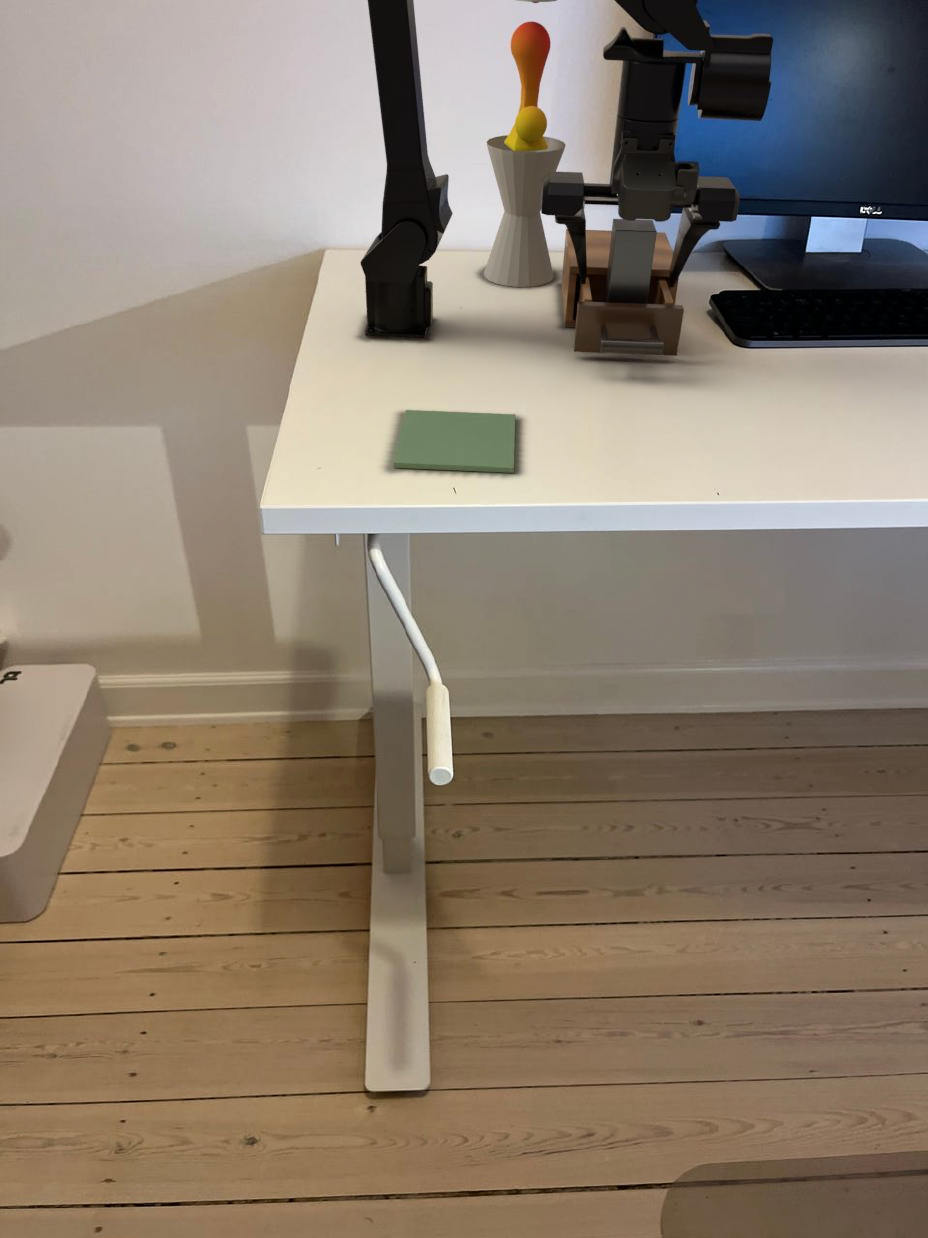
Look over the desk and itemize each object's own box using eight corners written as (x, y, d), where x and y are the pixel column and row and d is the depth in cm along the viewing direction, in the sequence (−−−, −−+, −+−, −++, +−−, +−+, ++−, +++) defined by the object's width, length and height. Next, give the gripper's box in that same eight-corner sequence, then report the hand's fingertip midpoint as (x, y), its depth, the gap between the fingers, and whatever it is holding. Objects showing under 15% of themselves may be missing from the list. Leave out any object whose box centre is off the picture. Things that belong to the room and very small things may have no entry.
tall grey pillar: (604, 329, 100) (615, 229, 93) (602, 315, 103) (612, 218, 97) (643, 331, 99) (657, 231, 93) (639, 317, 103) (652, 219, 96)
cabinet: (670, 330, 105) (680, 269, 101) (564, 326, 105) (569, 265, 101) (657, 288, 116) (665, 232, 112) (561, 285, 116) (566, 228, 112)
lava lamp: (474, 265, 121) (483, -76, 100) (542, 261, 123) (565, -75, 102) (493, 289, 114) (507, -72, 93) (565, 284, 116) (595, -71, 95)
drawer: (682, 374, 94) (690, 326, 91) (575, 370, 94) (580, 322, 91) (663, 311, 107) (669, 268, 104) (569, 308, 107) (573, 264, 104)
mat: (393, 467, 80) (393, 462, 79) (405, 414, 88) (405, 409, 87) (513, 473, 79) (514, 467, 79) (515, 419, 87) (515, 414, 87)
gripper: (548, 130, 83) (536, 309, 93) (766, 137, 82) (731, 316, 92) (546, 106, 92) (535, 271, 101) (742, 112, 91) (713, 278, 101)
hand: (626, 284), depth 99 cm, fingers open, 9 cm apart
